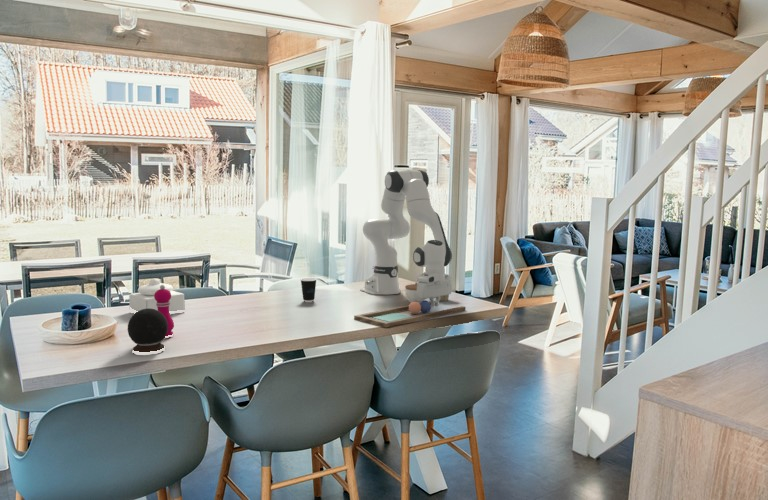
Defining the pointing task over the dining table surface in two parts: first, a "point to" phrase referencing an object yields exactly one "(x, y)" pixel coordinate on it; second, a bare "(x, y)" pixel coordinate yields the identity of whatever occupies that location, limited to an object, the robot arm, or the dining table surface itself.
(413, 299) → the lidded jar
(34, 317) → the dining table surface
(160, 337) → the black ball on stand
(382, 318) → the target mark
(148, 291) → the butter dish
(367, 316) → the guard rails
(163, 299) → the pepper mill
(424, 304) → the blue ball
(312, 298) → the dixie cup
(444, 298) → the flower pot
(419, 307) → the coral ball
